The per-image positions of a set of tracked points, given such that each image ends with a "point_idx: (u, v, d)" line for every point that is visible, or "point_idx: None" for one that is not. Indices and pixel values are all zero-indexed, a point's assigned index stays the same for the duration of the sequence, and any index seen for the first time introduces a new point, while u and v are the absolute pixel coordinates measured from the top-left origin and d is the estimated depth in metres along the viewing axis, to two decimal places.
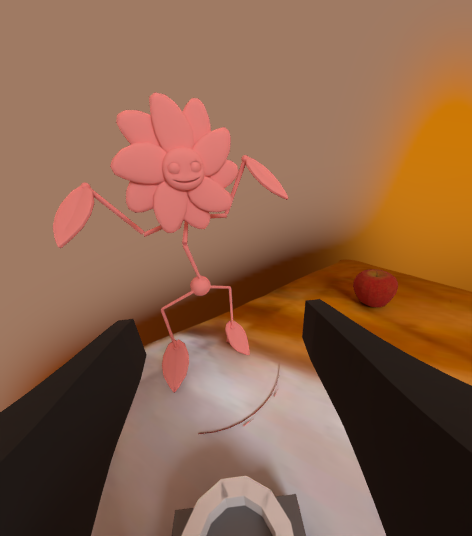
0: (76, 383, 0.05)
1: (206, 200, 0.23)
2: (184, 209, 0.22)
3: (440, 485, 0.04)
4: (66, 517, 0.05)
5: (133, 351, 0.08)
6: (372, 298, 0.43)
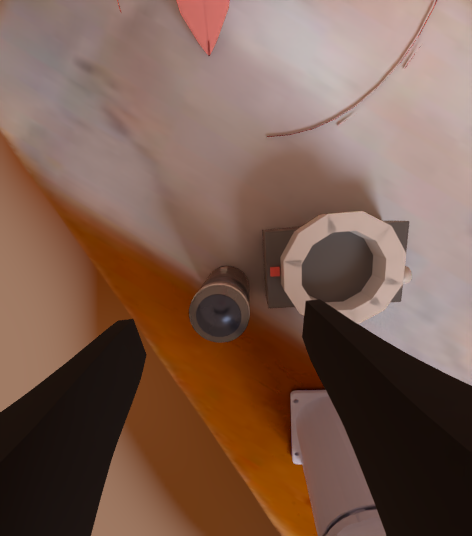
0: (76, 383, 0.05)
1: None
2: None
3: (440, 485, 0.04)
4: (66, 517, 0.05)
5: (133, 351, 0.08)
6: None
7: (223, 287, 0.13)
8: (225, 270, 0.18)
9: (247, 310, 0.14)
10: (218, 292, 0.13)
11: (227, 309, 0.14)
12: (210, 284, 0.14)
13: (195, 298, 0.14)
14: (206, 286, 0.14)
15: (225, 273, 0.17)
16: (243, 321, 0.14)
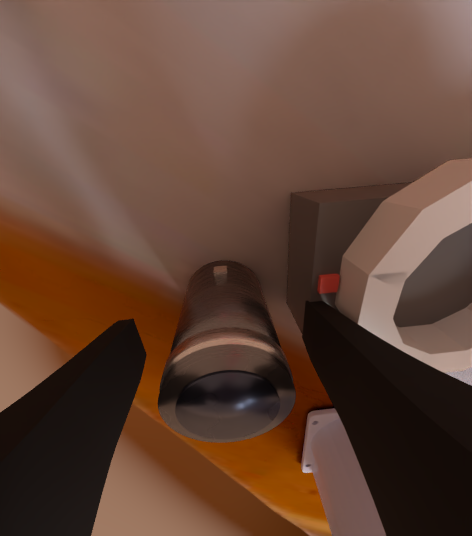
0: (76, 383, 0.05)
1: None
2: None
3: (440, 485, 0.04)
4: (66, 517, 0.05)
5: (133, 351, 0.08)
6: None
7: (240, 355, 0.05)
8: (224, 276, 0.09)
9: (292, 391, 0.06)
10: (228, 367, 0.05)
11: (249, 397, 0.06)
12: (204, 341, 0.06)
13: (170, 381, 0.06)
14: (195, 347, 0.06)
15: (227, 288, 0.08)
16: (282, 410, 0.06)
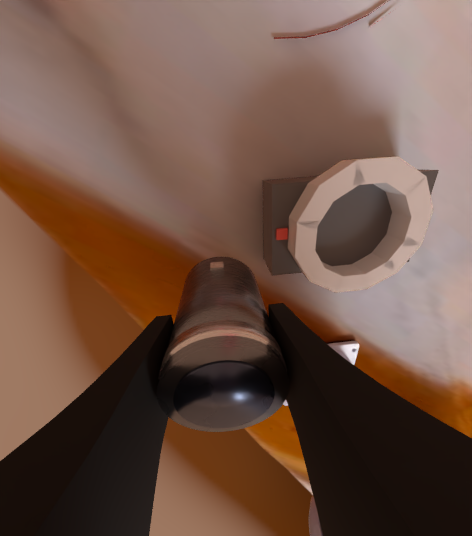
0: (136, 376, 0.05)
1: None
2: None
3: (352, 498, 0.04)
4: (134, 508, 0.05)
5: None
6: None
7: (235, 346, 0.06)
8: (220, 272, 0.09)
9: (286, 381, 0.06)
10: (224, 358, 0.06)
11: (245, 387, 0.06)
12: (201, 333, 0.06)
13: (168, 371, 0.06)
14: (192, 339, 0.06)
15: (224, 282, 0.08)
16: (276, 399, 0.07)
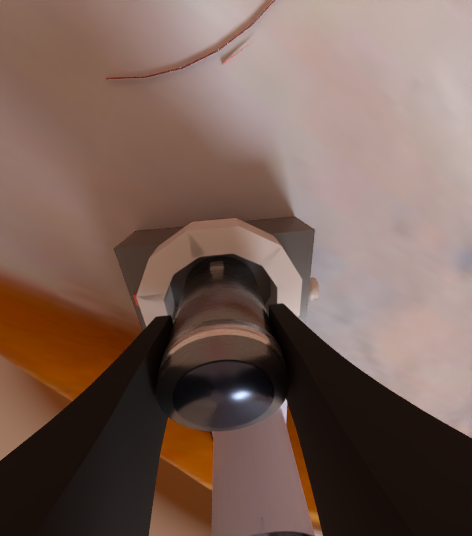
0: (135, 376, 0.05)
1: None
2: None
3: (352, 497, 0.04)
4: (133, 508, 0.05)
5: None
6: None
7: (235, 345, 0.06)
8: (220, 271, 0.09)
9: (286, 380, 0.06)
10: (223, 357, 0.06)
11: (244, 386, 0.06)
12: (201, 332, 0.06)
13: (167, 371, 0.06)
14: (192, 338, 0.06)
15: (224, 282, 0.08)
16: (276, 398, 0.07)
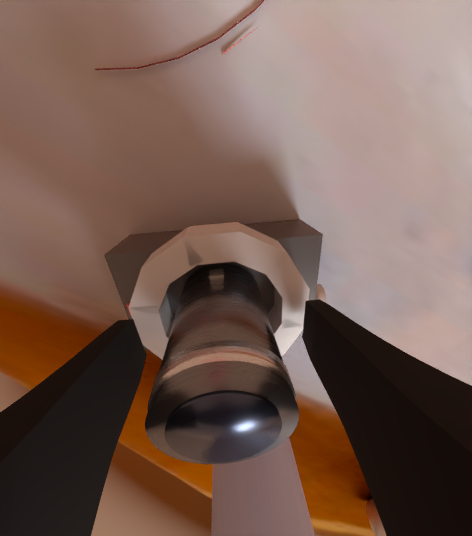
0: (77, 383, 0.05)
1: None
2: None
3: (440, 485, 0.04)
4: (66, 517, 0.05)
5: (133, 351, 0.08)
6: None
7: (237, 374, 0.05)
8: (220, 280, 0.08)
9: (295, 411, 0.06)
10: (223, 388, 0.05)
11: (248, 419, 0.05)
12: (197, 357, 0.05)
13: (158, 403, 0.05)
14: (186, 364, 0.05)
15: (224, 293, 0.08)
16: (284, 430, 0.06)
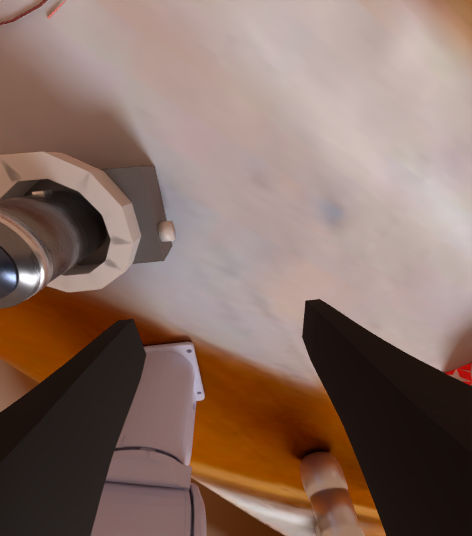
0: (77, 383, 0.05)
1: None
2: None
3: (440, 485, 0.04)
4: (66, 517, 0.05)
5: (133, 351, 0.08)
6: None
7: None
8: (38, 194, 0.11)
9: (22, 253, 0.08)
10: None
11: None
12: None
13: None
14: None
15: (25, 196, 0.10)
16: (22, 272, 0.08)
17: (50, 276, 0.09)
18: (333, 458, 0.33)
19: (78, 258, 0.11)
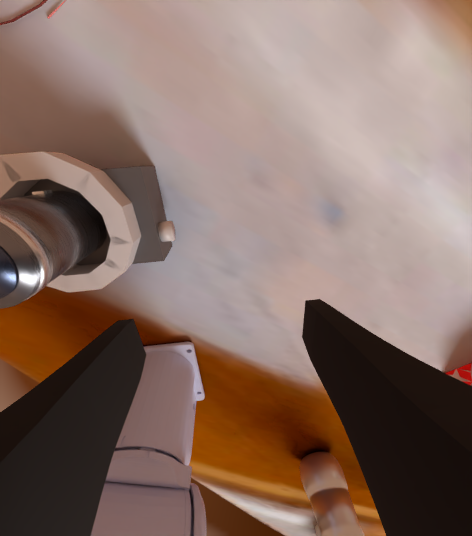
0: (77, 383, 0.05)
1: None
2: None
3: (440, 485, 0.04)
4: (66, 517, 0.05)
5: (133, 351, 0.08)
6: None
7: None
8: (38, 194, 0.11)
9: (22, 253, 0.08)
10: None
11: None
12: None
13: None
14: None
15: (25, 196, 0.10)
16: (22, 272, 0.08)
17: (50, 276, 0.09)
18: (333, 458, 0.33)
19: (78, 258, 0.11)
